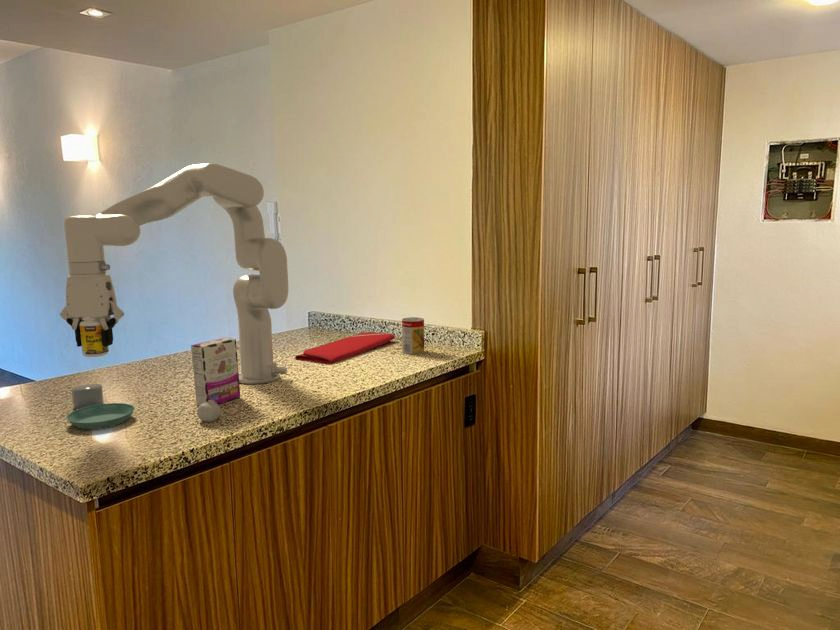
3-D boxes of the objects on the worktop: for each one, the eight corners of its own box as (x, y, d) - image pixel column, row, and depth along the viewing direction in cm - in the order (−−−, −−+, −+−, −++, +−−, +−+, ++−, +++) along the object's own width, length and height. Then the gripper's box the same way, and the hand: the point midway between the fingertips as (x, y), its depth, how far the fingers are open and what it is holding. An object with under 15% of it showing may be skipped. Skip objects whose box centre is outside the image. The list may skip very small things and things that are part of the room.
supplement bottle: (84, 358, 143) (79, 315, 141) (81, 354, 148) (77, 312, 146) (110, 355, 146) (106, 312, 144) (107, 351, 151) (103, 310, 149)
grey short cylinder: (109, 402, 165) (107, 384, 165) (93, 410, 158) (91, 391, 158) (84, 401, 166) (82, 383, 165) (67, 410, 159) (65, 391, 158)
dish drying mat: (294, 360, 212) (293, 350, 211) (363, 339, 247) (362, 330, 246) (330, 366, 204) (330, 355, 204) (396, 343, 239) (396, 333, 239)
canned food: (428, 351, 222) (428, 318, 220) (416, 355, 216) (416, 321, 214) (410, 348, 226) (409, 316, 224) (398, 353, 220) (397, 319, 218)
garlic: (226, 420, 150) (225, 399, 149) (205, 426, 146) (204, 404, 145) (213, 415, 153) (212, 394, 153) (193, 420, 149) (191, 400, 149)
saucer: (59, 436, 141) (58, 425, 140) (76, 416, 155) (75, 405, 154) (129, 429, 144) (128, 418, 144) (140, 410, 159) (139, 400, 158)
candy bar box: (228, 395, 171) (224, 336, 168) (241, 397, 168) (237, 338, 165) (194, 405, 161) (190, 344, 159) (207, 408, 159) (203, 346, 156)
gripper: (131, 267, 147) (138, 342, 150) (62, 268, 148) (70, 342, 151) (113, 270, 139) (121, 349, 142) (41, 271, 141) (50, 348, 144)
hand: (95, 344), depth 147 cm, fingers closed on supplement bottle, 5 cm apart
